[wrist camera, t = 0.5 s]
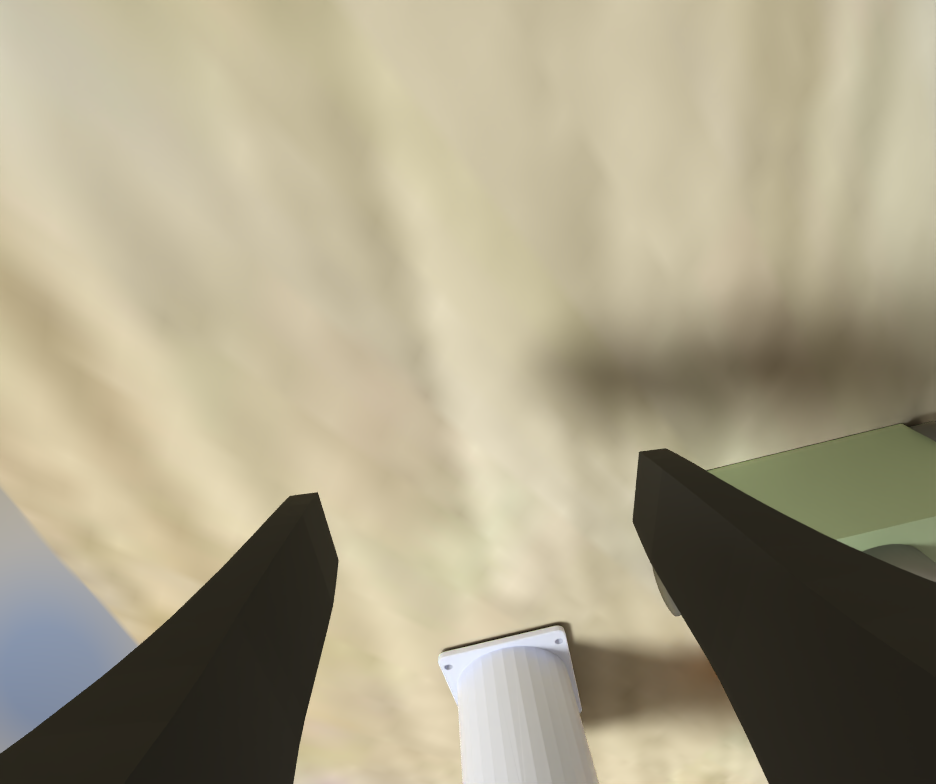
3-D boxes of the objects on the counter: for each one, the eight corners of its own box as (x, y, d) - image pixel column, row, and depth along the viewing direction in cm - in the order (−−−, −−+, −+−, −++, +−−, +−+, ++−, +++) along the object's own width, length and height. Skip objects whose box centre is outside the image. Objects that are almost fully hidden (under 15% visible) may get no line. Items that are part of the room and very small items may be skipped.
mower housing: (872, 607, 29) (1028, 759, 22) (658, 657, 30) (737, 822, 22) (927, 409, 22) (1183, 531, 15) (646, 477, 23) (756, 630, 15)
